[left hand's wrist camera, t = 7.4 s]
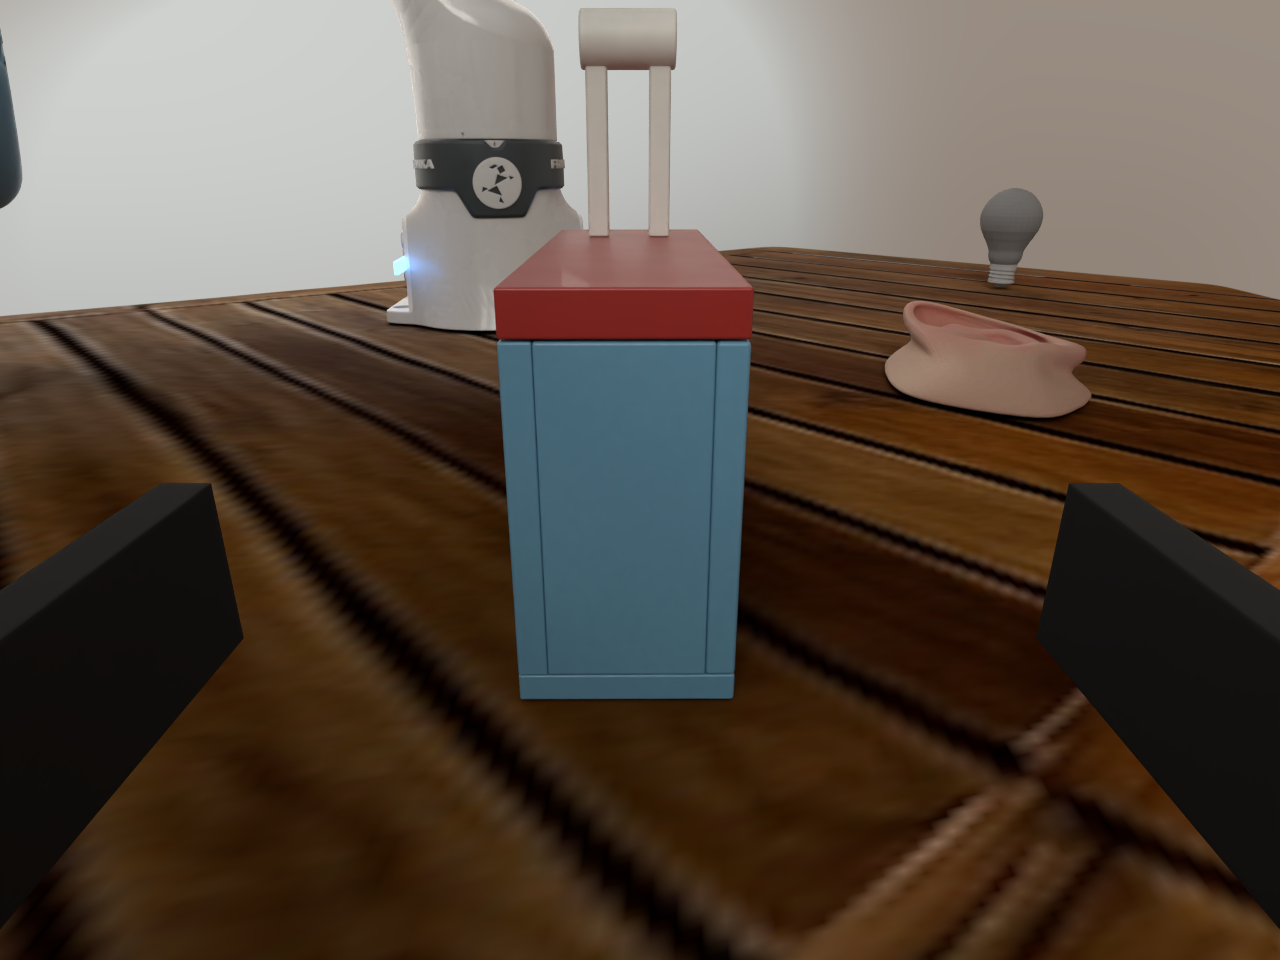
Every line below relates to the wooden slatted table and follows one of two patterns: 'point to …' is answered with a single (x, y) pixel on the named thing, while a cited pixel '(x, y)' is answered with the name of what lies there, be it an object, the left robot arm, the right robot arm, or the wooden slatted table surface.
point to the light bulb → (1009, 231)
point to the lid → (626, 259)
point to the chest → (625, 513)
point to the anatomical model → (985, 364)
